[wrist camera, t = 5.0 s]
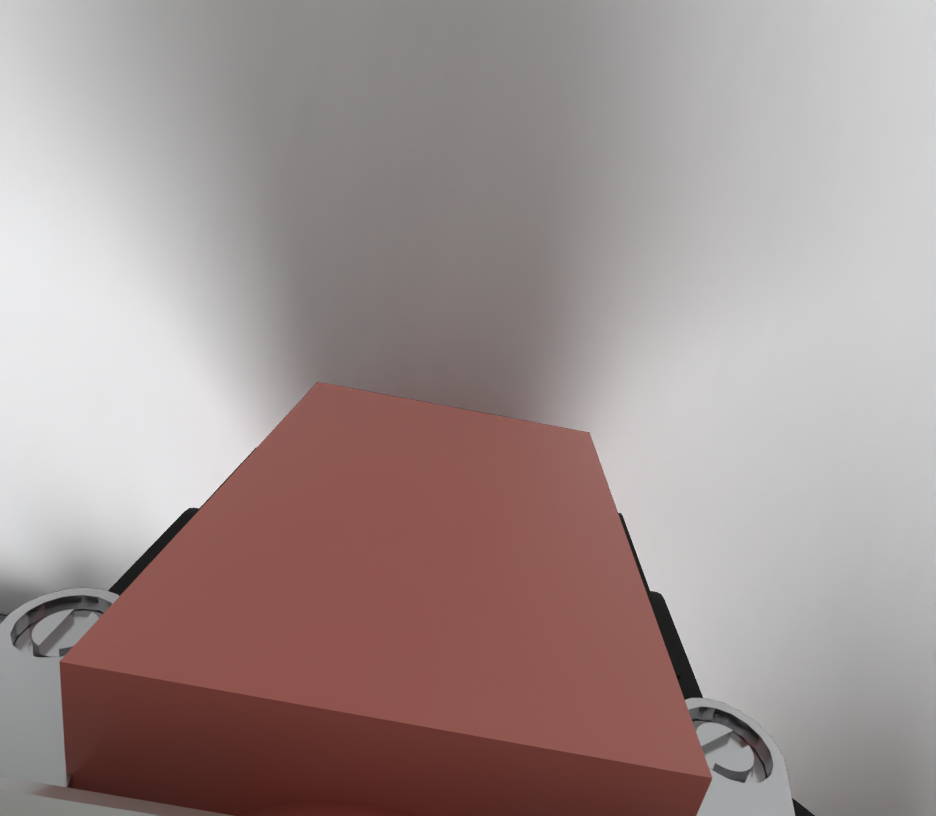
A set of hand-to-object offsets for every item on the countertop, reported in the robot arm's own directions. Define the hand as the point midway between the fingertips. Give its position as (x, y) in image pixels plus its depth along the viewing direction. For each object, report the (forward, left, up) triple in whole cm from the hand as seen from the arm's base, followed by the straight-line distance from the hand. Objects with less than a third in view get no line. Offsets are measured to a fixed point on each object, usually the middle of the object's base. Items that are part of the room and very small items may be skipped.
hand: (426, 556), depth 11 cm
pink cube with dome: (0, 0, -1) cm, 1 cm away
